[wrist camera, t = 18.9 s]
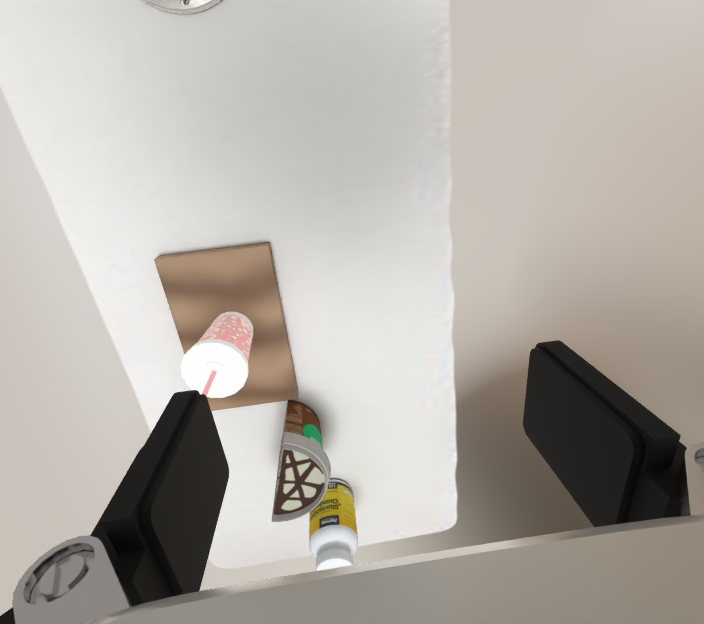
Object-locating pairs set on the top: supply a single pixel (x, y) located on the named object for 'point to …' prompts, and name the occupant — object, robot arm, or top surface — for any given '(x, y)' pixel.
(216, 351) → the beverage cup
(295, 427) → the food container
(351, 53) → the top surface
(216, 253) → the walnut board
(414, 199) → the top surface
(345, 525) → the pill bottle
